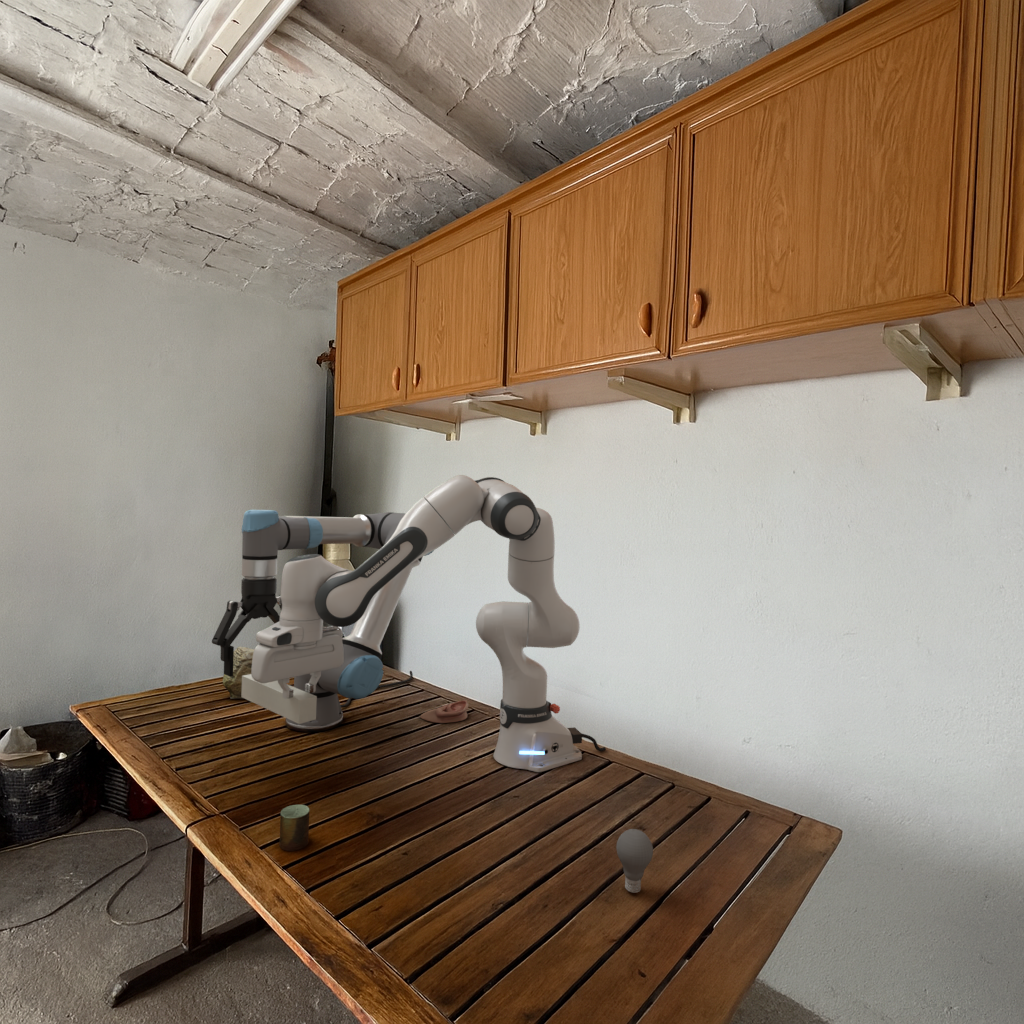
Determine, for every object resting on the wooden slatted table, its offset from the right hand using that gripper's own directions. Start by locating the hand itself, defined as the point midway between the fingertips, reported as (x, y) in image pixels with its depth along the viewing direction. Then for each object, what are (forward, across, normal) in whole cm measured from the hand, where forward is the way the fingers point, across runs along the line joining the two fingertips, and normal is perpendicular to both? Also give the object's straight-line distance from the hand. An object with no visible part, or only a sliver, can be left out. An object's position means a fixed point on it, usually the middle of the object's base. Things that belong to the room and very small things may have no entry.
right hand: (299, 695), depth 135 cm
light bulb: (+21, -19, +70) cm, 76 cm away
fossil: (+21, -27, -66) cm, 75 cm away
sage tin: (+21, +11, +18) cm, 29 cm away
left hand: (-2, 0, -17) cm, 17 cm away
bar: (+5, 0, -8) cm, 10 cm away
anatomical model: (+21, -56, -11) cm, 60 cm away
